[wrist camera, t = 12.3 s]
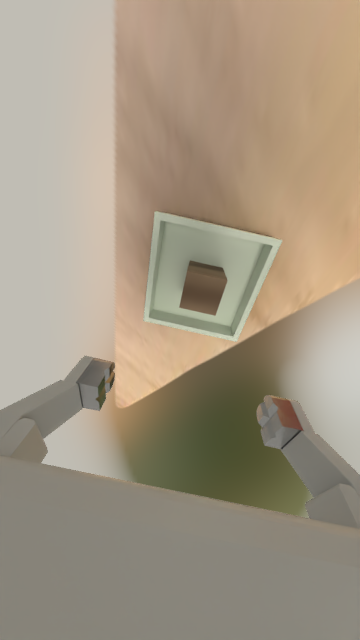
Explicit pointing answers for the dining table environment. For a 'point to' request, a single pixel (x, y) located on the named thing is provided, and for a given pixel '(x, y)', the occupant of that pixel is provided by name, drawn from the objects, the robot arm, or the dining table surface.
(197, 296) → the walnut block
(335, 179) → the dining table surface
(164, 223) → the bin
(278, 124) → the dining table surface
